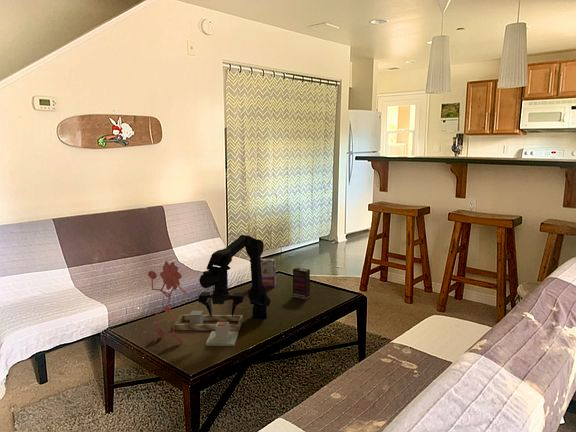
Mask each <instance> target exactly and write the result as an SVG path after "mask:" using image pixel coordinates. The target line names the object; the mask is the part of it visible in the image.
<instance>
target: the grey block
mask: <svg viewBox="0 0 576 432" xmlns="http://www.w3.org/2000/svg"><path fill="white" fill-rule="evenodd" d="M189 315H190V320H189V324H204V320H203V315H204V310H191V312H190V313H189Z"/></svg>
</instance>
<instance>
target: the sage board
mask: <svg viewBox="0 0 576 432" xmlns="http://www.w3.org/2000/svg"><path fill="white" fill-rule="evenodd" d="M238 336H239V331H229V337H228V339H227V340H216V335H215V330H211V332H210V334H209V336H208V338H207V340H206V342H205V346H207V347H208V346H210V347H211V346H214V347H215V346H217V347H218V346H220V347H221V346H222V347H234V346H235V345H236V343H237V339H238Z"/></svg>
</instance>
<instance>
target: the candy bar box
mask: <svg viewBox="0 0 576 432" xmlns="http://www.w3.org/2000/svg"><path fill="white" fill-rule="evenodd" d="M276 260H277V259H276V258H261V273H262V285H263V287H264V288H275V287H276V286H277V266H276V265H277V263H276V262H277V261H276Z"/></svg>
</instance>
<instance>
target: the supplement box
mask: <svg viewBox="0 0 576 432" xmlns="http://www.w3.org/2000/svg"><path fill="white" fill-rule="evenodd" d="M310 284H311V269H307V268H302V267H298V266H297V267H295V268H293V269H292V297H293V298H298V299H303V300H307V299H309V298H311V288H310V287H311V285H310Z"/></svg>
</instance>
